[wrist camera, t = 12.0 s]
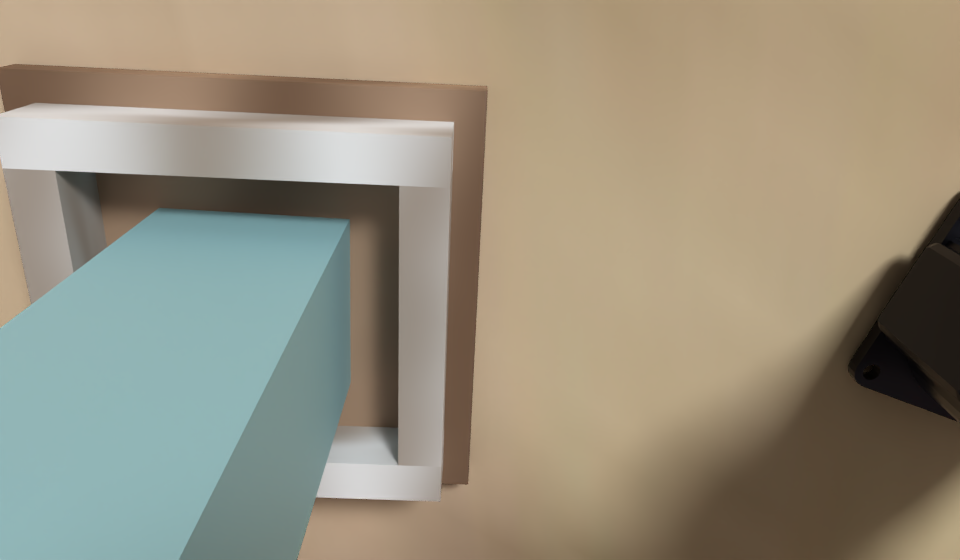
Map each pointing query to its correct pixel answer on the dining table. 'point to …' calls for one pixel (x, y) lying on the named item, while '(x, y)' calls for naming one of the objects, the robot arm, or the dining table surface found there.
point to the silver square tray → (294, 192)
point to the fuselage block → (177, 392)
